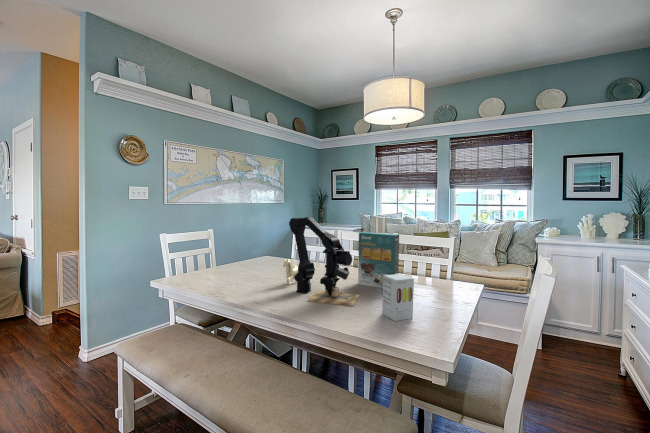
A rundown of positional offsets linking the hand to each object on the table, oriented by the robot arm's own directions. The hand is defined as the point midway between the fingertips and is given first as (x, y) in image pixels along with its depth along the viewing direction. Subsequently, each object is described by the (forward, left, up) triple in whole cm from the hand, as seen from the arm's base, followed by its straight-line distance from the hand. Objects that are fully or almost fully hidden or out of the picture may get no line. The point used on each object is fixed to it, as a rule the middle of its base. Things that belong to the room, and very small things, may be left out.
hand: (331, 294), depth 151 cm
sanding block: (0, 0, -1) cm, 1 cm away
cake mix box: (+18, +31, -2) cm, 36 cm away
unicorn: (-29, +18, -2) cm, 34 cm away
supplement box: (+32, -13, -2) cm, 35 cm away
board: (+1, 0, -2) cm, 3 cm away
